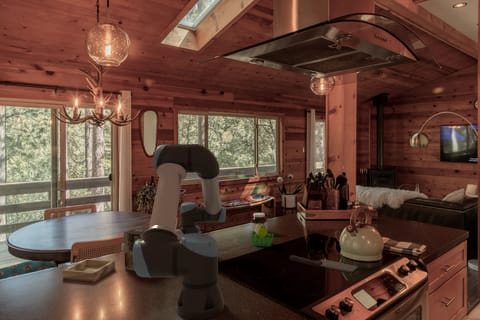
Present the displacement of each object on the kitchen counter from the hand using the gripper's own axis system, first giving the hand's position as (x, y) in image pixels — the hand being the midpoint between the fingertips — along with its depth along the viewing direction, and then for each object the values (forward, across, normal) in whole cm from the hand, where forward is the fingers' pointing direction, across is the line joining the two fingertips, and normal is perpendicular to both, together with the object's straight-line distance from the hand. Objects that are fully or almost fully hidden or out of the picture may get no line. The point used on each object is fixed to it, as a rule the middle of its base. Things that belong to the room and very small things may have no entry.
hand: (128, 249), depth 140 cm
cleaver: (-62, -56, -10) cm, 84 cm away
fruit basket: (-66, -19, -9) cm, 69 cm away
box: (+12, +9, -9) cm, 18 cm away
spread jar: (-82, -3, -9) cm, 83 cm away
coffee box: (-4, 0, -9) cm, 10 cm away
